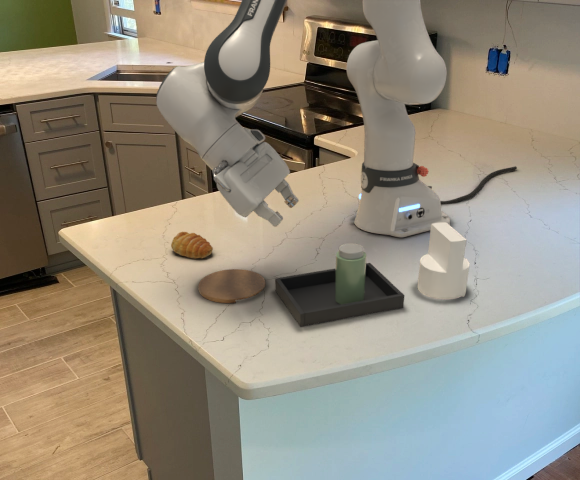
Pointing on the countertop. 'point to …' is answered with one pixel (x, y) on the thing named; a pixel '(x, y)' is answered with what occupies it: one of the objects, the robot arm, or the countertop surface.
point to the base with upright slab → (444, 264)
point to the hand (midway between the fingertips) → (287, 213)
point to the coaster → (231, 285)
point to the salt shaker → (350, 273)
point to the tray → (321, 296)
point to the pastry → (191, 245)
